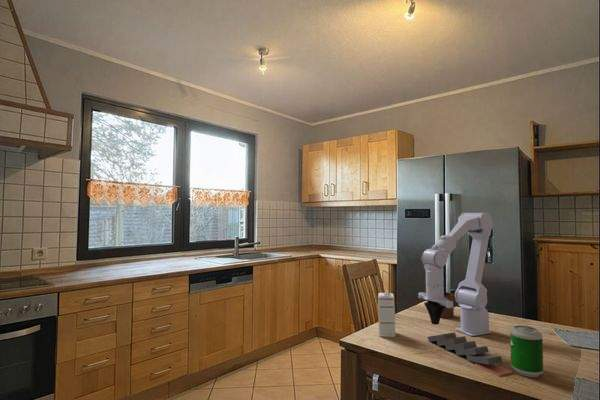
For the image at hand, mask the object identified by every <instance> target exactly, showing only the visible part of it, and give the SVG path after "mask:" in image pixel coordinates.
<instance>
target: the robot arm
mask: <svg viewBox="0 0 600 400" xmlns="http://www.w3.org/2000/svg"><path fill="white" fill-rule="evenodd" d="M493 222H494V221H493V218H492V217H491V215H490V213H488V212H462V213H461V214H460V215H459V216H458V218H457V223H456V224H455V225H454V227H453V228H452V229H451V230H450V232H449V233H448V234H445V235H441V236H440V237H439V239H438V241H436V243H435V244H433V245H432V246H431V248H427V249H425V250H424V251H423V253H422V256H421V257H420V259H421V262H422V264H423V269H424V270H425V292H423V291H420V292H418V294H417V295H418V296H417V297H418V299H421V300H425V302H424V306H425V308H426V310H427V313H428V315H429V318H430V321H431V324H432V325H434V326H435V325H440V321H441V319H442V318H441V314H442V312H443V310H444V308H445V307H447V308H453V302H452V301H450V300H448V299H446V298H445V297H444V292H445V291H444V290H445V289H444V266H446V264H447V262H448V258H449V255H451V253H452V252H453V251H454V250H455V248H456V247H457V245H458V244H457V242H458V240H459V239H461V238H462V237H463V236H464V235H465V234H467V235H469V236H470V237H471V239H472V241H471V247H470V252H469V258H468V263H467V269H466V275H465V279H464V280H462V281H460V282H459V283H458V286H457V289H456V290H455V292H454V295H455V299H454V300H455V302H457V303H458V305H459V306H458V307H460V311H459V312H460V327H455V329H454V330H455V331H458V332H460V333H463V334H465V335H467V336H471V337H475V336H476V337H477V336H482V335H486V334H491V333H492V331H491V330H490V316H489V315H490V314H489V311H488V309H487V308H486V306H487V305H488V296H487V295H488V294H487V293H488V289H487V288H486V287H485V286H484V284H483V283H482V280H483V274H484V273H483V272H484V269H485V268H484V267H485V262H486V258H487V257H486V255H487V250H488V245H489V239H490V237H491V233H492V228H493Z"/></svg>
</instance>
